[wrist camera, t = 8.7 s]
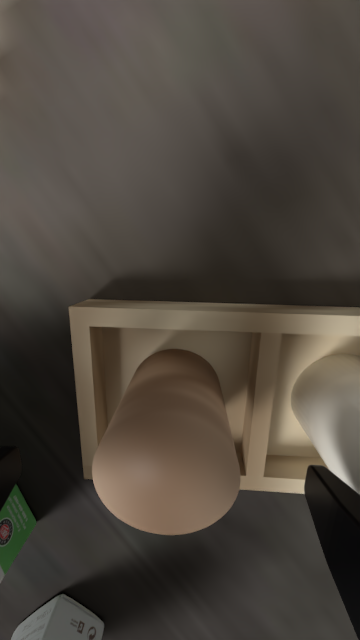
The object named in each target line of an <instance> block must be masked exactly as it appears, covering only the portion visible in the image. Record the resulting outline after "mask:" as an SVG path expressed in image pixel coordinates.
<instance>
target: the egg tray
mask: <svg viewBox="0 0 360 640" xmlns="http://www.w3.org/2000/svg"><path fill="white" fill-rule="evenodd" d="M69 318H70V329H71V340H72V351H73V362H74V373H75V384H76V395H77V406H78V417H79V428H80V439H81V450H82V461H83V472H84V479H93V476H92V464H93V459H94V456H95V453H96V450H97V448H98V446H99V444H100V442H101V440H102V438H103V436H104V434H105V432H106V430H107V428H108V426H109V424H110V422H111V420H112V418H113V416H114V414H115V412H116V410H117V408H118V406H119V404H120V402H121V400H122V398H123V396H124V394H125V392H126V389H127V387H128V385H129V383H130V381H131V379H132V377H133V375H134V373H135V371H136V370H137V368H138V366H139V365H140V364H141V363H142V362H143V361H144V360H145V359H146V358H147V357H149V356H150V355H152V354H154V353H156V352H159V351H162V350H166V349H183V350H188V351H191V352H194V353H196V354H198V355H200V356H201V357H203V358H204V359H205V360H206V361H207V362H209V363H210V365H211V366H212V367H213V369H214V370H215V372H216V374H217V376H218V379H219V382H220V386H221V391H222V395H223V399H224V403H225V408H226V412H227V416H228V420H229V425H230V429H231V433H232V437H233V442H234V446H235V450H236V454H237V459H238V463H239V467H240V475H241V476H240V487H239V489H242V490H257V491H271V492H286V493H301V494H305V492H304V484H305V478H306V473H307V468H308V466H309V465H322V466H325V467H326V468H327V469H329V468H328V467H327V465H326V464H325V462H324V461H323V459H322V458H321V456H320V455H319V453H318V451H317V450H316V448H315V447H314V445H313V444H312V442H311V441H310V439H309V437H308V436H307V434H306V433H305V431H304V430H303V428H302V427H301V425H300V424H299V422H298V420H297V419H296V417H295V415H294V413H293V411H292V407H291V392H292V388H293V386H294V383H295V381H296V380H297V378H298V377H299V375H300V374H301V373H302V372H303V371H304V370H305V369H306V368H307V367H308V366H309V365H311V364H312V363H314V362H315V361H317V360H319V359H321V358H324V357H327V356H331V355H336V354H352V355H357V356H360V307H334V306H301V305H268V304H236V303H203V302H170V301H138V300H105V299H88V300H85V301H82V302H80V303H77V304H74V305H72V306H69Z"/></svg>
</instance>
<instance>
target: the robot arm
mask: <svg viewBox="0 0 360 640" xmlns="http://www.w3.org/2000/svg"><path fill="white" fill-rule="evenodd" d="M21 472H22V463H21V457H20V451H19V448H18V447H16V446H3V447H1V448H0V512H1V510H2V508H3V506H4V504H5V503H6V501H7V499H8V497H9V495H10V494H11V492H12V490H13V488H14V486H15V485H16V483H17V481H18V479H19V477H20V475H21ZM304 492H305V497H306V500H307V503H308V506H309V509H310V512H311V515H312V518H313V522H314V525H315V528H316V531H317V534H318V537H319V540H320V544H321V547H322V550H323V553H324V556H325V558H326V561H327V564H328V566H329V569H330V571H331V574H332V576H333V579H334V581H335V584H336V586H337V588H338V591H339V593H340V596H341V598H342V601H343V603H344V605H345V608H346V610H347V613H348V615H349V618H350V620H351V622H352V625H353V627H354V630H355V632H356V635H357V637H358V639H359V640H360V494H358V493H357V492H356V491H355V490H353V489H352V488H351V487H350V486H348V485H347V484H346V483H345V482H344V481H342V480H341V479H340V478H339V477H337V476H336V475H335V474H334V473H332V472H331V471H330V470H329V469H327V468H326V467H325V466H322V465H309V466H308V468H307V473H306V478H305V484H304Z"/></svg>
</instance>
